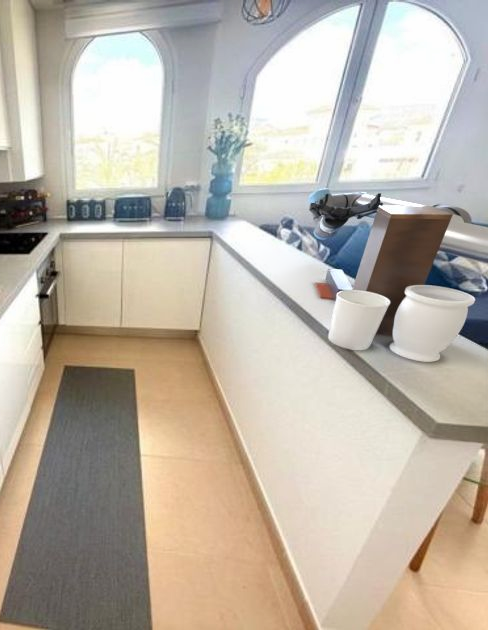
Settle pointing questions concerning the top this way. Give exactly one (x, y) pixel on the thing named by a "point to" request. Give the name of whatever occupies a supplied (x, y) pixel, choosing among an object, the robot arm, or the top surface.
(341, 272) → the slim box
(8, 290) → the top surface
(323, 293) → the mat
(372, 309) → the white flower pot
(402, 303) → the jar
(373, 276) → the stand
